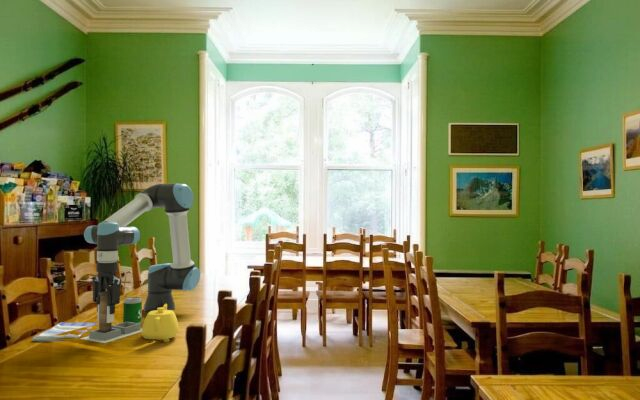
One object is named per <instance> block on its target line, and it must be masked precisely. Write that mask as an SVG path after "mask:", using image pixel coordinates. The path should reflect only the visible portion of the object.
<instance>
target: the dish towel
mask: <svg viewBox="0 0 640 400" xmlns="http://www.w3.org/2000/svg"><path fill="white" fill-rule="evenodd" d="M97 325H99V322H98V323H97V322H63V321H61V322H59V323H57V324H55V325H54V326H53V327H51V328H50V329H47V330H45V331H43V332H41V333H39V334H35V335H34V336H33V337H32V339H31V342H32V341H33V342H67V340H66V339H78V338H79V337H81V336H82V335H83V334H84V333H86V332H88V330H89V329H93V327H94V326H97ZM92 326H93V327H92ZM82 328H85V329H86V330H85V329H84V330H78V329H82ZM74 330H77V332H78V333H79V332H80V333H79V334H78V335H76V334H71V333H67V332H71V331H74ZM63 333H67V334H63ZM59 334H63V335H59Z"/></svg>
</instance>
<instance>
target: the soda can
mask: <svg viewBox="0 0 640 400" xmlns="http://www.w3.org/2000/svg"><path fill="white" fill-rule="evenodd" d="M122 305H123V306H122V307H123V309H122V323H123V322H126V321H127V322H133V323H140V324H142V323H143V322H142V321H143V320H142V318H143V317H142V316H143V315H142V314H143V313H142V312H143V299H142V298H141V297H139V296H128V297H126V298H125V299H124V300H123V303H122Z"/></svg>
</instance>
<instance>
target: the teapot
mask: <svg viewBox="0 0 640 400" xmlns="http://www.w3.org/2000/svg"><path fill="white" fill-rule="evenodd" d="M142 323H143V324H142V327H141V328H142V332H141V335H142V337H143V339H145V340H151V341H148V342H147V343H149V344H151V342H152V343H154V342H155V340H163V341H162V342H163V343H169V341H170V342H171V340H170V339H171V338H174V337H175V336H177V333H178V331H179V322H178V319H177V315H176V313H175V311H174V310H167V304H164V306H163V307H160V308H157V310H154V311H150V312H147V315H146V317H145V319H144V321H143V322H142Z"/></svg>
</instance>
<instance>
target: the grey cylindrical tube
mask: <svg viewBox="0 0 640 400" xmlns="http://www.w3.org/2000/svg"><path fill="white" fill-rule="evenodd" d="M99 295H100V313H99V322H98V323H99V324H98V329H99V331H101V332H105V331H110V330H111V327H112V325H113V324H112V323H113V322H110V323H107V305H109V302H108V292H107V289H106V291H101V292H99Z"/></svg>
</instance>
